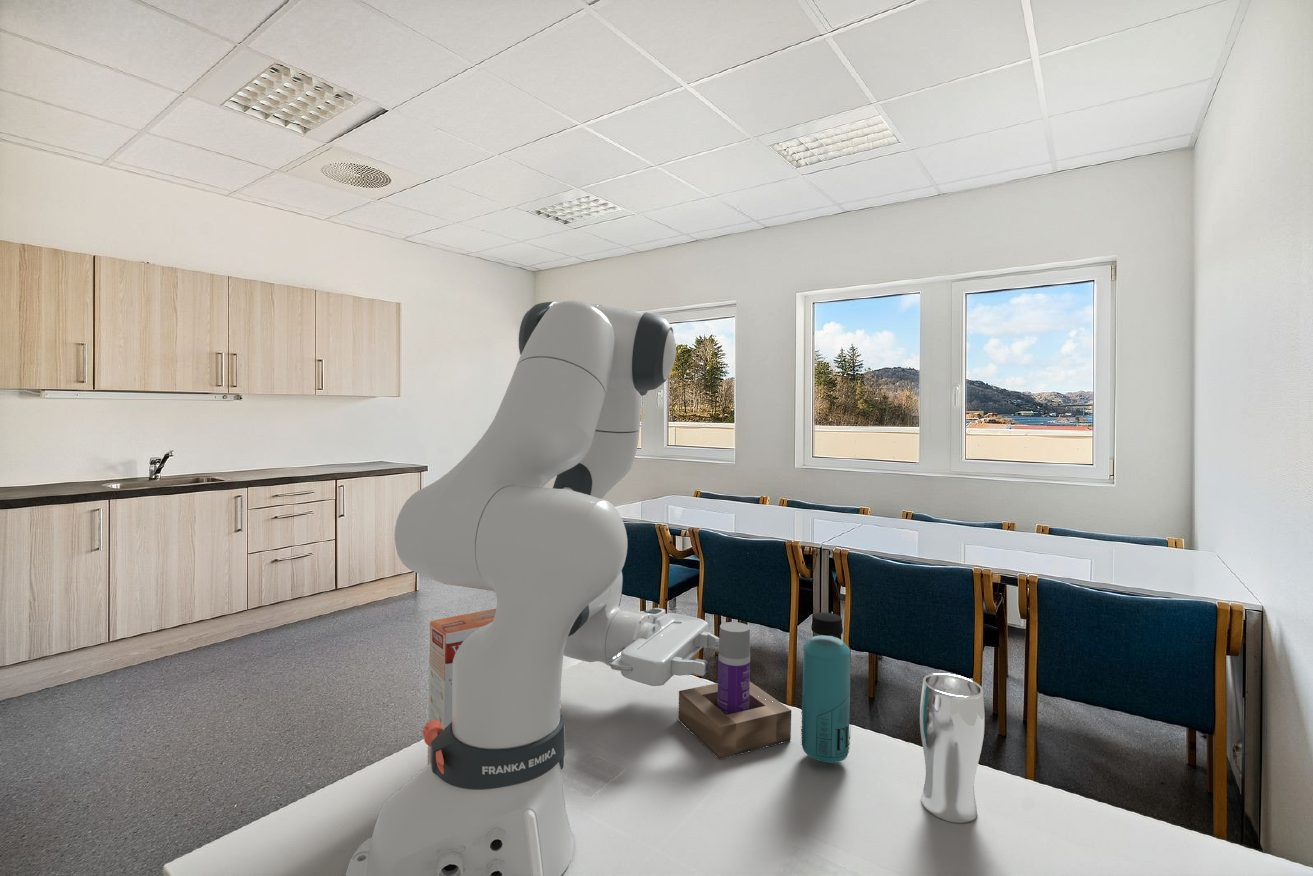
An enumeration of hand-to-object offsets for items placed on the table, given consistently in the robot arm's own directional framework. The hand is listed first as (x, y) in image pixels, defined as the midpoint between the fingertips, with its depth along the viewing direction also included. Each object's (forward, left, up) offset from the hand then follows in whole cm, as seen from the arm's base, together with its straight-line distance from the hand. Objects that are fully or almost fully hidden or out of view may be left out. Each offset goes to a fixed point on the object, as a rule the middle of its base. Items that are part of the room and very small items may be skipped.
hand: (717, 657), depth 92 cm
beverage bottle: (+9, -14, -11) cm, 20 cm away
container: (+2, -2, -10) cm, 11 cm away
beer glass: (+16, -28, -11) cm, 34 cm away
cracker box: (-33, +1, -11) cm, 35 cm away
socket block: (+2, -2, -10) cm, 11 cm away
